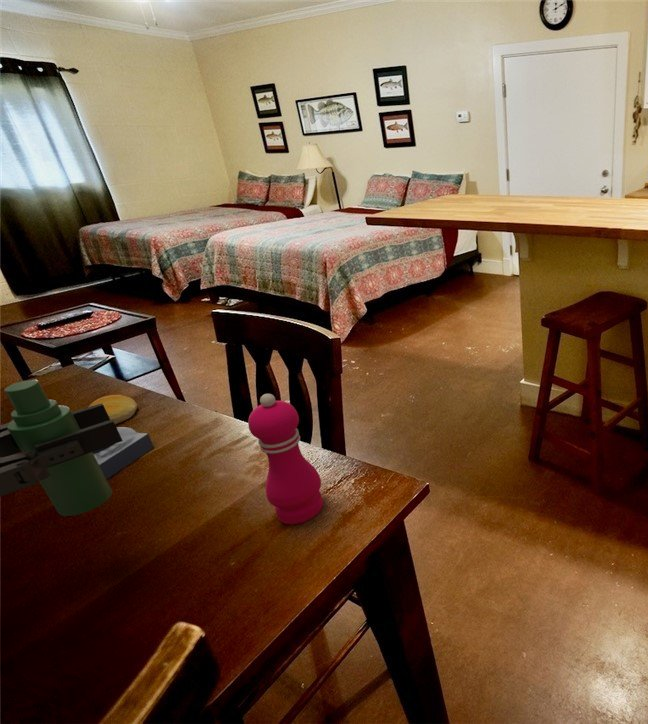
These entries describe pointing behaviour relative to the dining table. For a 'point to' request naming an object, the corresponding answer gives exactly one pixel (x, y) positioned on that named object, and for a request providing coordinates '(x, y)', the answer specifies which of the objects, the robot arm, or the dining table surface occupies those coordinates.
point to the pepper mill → (285, 462)
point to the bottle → (48, 421)
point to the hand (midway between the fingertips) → (111, 421)
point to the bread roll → (117, 407)
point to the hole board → (122, 451)
